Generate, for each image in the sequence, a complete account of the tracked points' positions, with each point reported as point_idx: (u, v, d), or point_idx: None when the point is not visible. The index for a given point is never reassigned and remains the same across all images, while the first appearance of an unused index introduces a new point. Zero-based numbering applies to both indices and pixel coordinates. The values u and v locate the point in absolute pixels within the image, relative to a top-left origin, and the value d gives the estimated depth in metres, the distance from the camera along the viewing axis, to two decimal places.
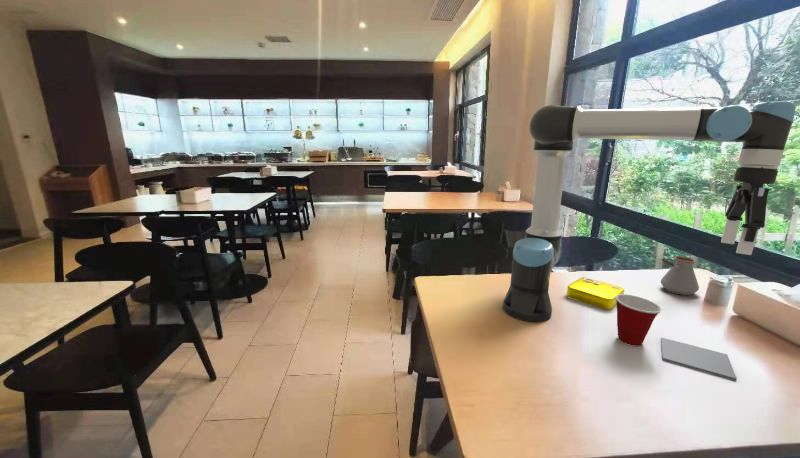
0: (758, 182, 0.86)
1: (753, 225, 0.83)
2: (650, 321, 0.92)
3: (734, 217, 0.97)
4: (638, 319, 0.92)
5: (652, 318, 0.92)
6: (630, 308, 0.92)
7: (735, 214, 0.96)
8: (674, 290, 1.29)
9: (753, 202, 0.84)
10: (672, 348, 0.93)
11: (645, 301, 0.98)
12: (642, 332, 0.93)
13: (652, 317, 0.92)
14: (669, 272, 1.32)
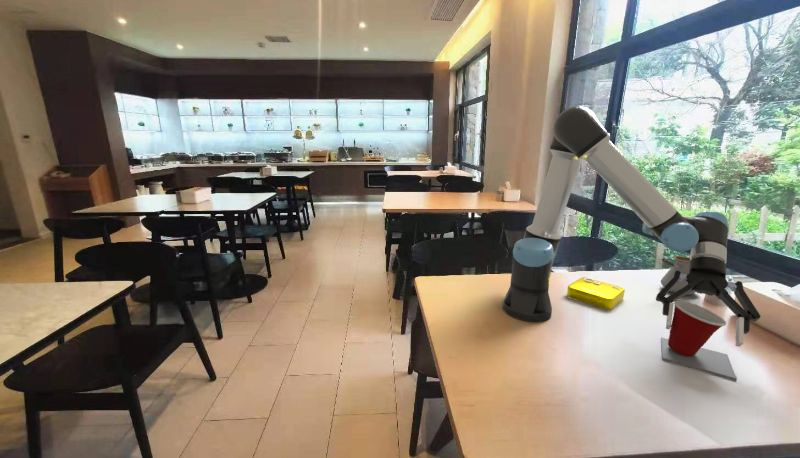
0: None
1: None
2: (711, 332, 0.86)
3: None
4: (699, 329, 0.86)
5: (714, 330, 0.86)
6: (693, 316, 0.85)
7: (675, 299, 0.93)
8: (674, 290, 1.29)
9: (746, 295, 0.87)
10: None
11: (704, 310, 0.92)
12: (699, 343, 0.87)
13: (715, 329, 0.85)
14: (669, 272, 1.32)
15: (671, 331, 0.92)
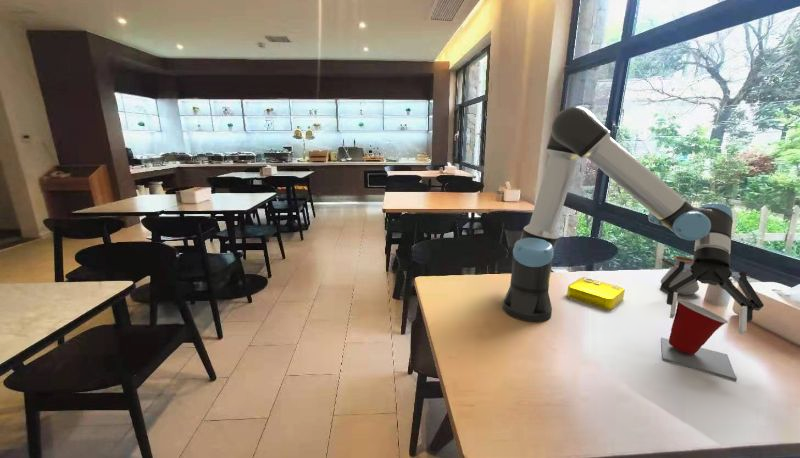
0: None
1: (762, 306, 0.85)
2: (713, 330, 0.87)
3: None
4: (702, 325, 0.86)
5: (717, 327, 0.86)
6: (697, 311, 0.86)
7: (679, 288, 0.95)
8: None
9: None
10: (672, 348, 0.93)
11: (706, 311, 0.93)
12: (701, 340, 0.88)
13: (717, 326, 0.86)
14: (669, 272, 1.32)
15: (673, 328, 0.92)
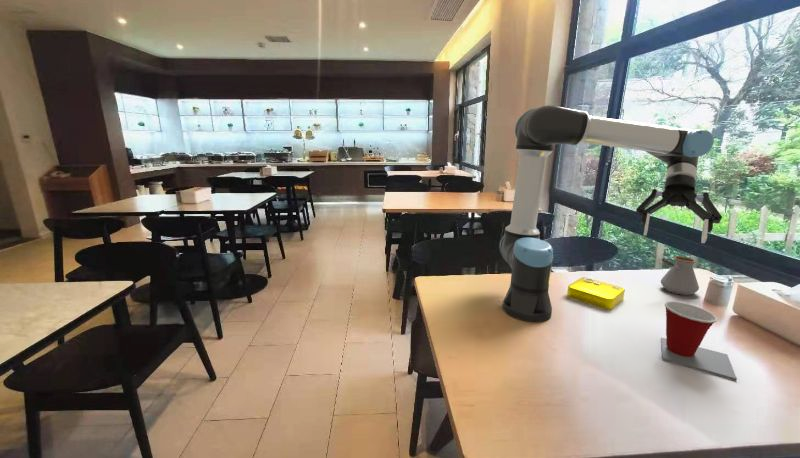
0: (694, 191, 1.06)
1: None
2: (705, 330, 0.87)
3: None
4: (692, 328, 0.87)
5: (707, 327, 0.86)
6: (683, 316, 0.87)
7: (652, 211, 1.08)
8: (674, 290, 1.29)
9: (711, 202, 1.02)
10: None
11: (697, 309, 0.92)
12: (695, 342, 0.88)
13: (707, 326, 0.86)
14: (669, 272, 1.32)
15: (667, 333, 0.93)
